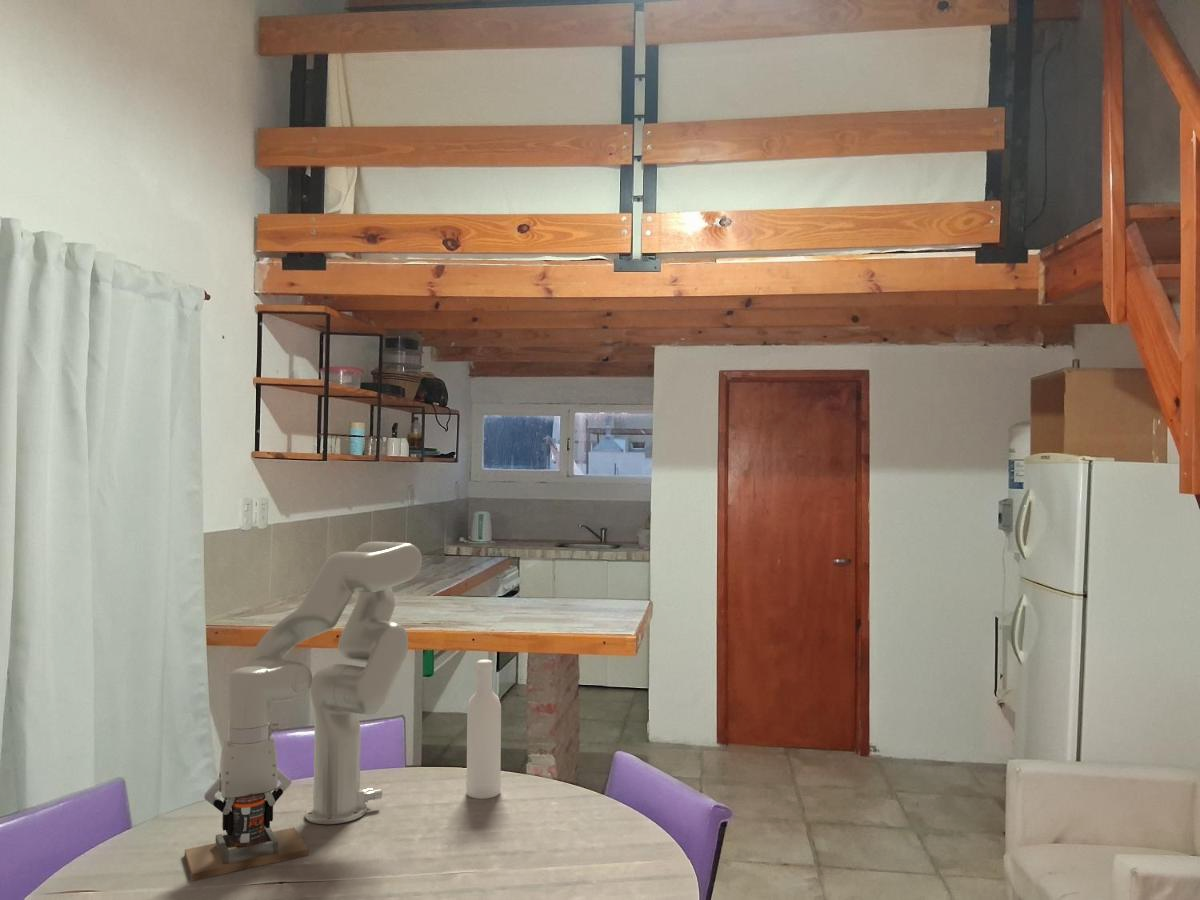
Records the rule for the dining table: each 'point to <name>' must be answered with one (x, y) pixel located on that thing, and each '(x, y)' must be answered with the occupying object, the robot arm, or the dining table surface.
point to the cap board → (243, 853)
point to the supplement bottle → (248, 820)
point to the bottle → (484, 737)
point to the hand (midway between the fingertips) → (247, 828)
